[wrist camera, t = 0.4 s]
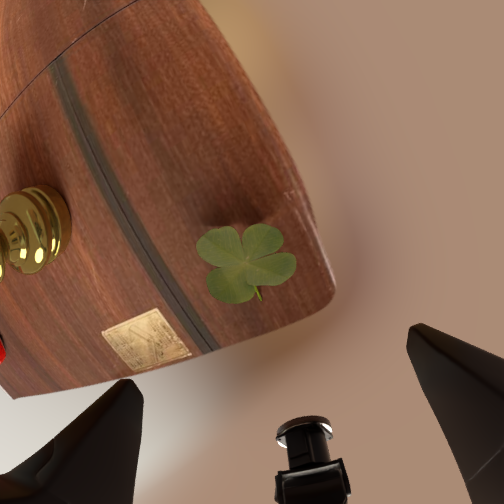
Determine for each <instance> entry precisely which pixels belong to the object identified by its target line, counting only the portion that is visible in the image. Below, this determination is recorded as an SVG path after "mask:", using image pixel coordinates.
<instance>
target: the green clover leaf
mask: <svg viewBox="0 0 504 504" xmlns="http://www.w3.org/2000/svg"><path fill="white" fill-rule="evenodd" d="M283 241H284V240H283V236H282V234H281V232H280V231H279V230H278V229H277V228H274V227H271V226H269V225H267V224H255V225H252V226H249V227H248V228H246V230H245V231H244V233H243V237H242V245H241V240H240V238H239V235H238V233H237V231H236V230H235V229H234V228H232V227H230V226H225V227H222V228H219V229H212V230H210V231H208V232H207V233H206V234H204V235H203V236H202V237H201V238H200V239H199V240H198V241H197V245H196V246H197V247H196V249H197V251H198V255H199V256H200V257H201V258H202V259H203V260H205V261H206V262H208V263H210V264H212V265H215V266H217V267H220V268H216V269H214V270H212V271H211V272H210V273H209V274H208V275H207V277H206V282H207V287H208V289H209V292H210V294H211V295H212V296H213V297H214V298H216V299H217V300H220V301H222V302H225V303H235V304H237V303H243V302H246V301H248V300H250V299H251V298H253V296H254V293H255V291H256V293H257V295H258V297H259V299H260V301H262V298H261V296H260V293H259V291H258V289H257V287H256V286H259V285H269V286H277V285H280V284H282V283H283V282H285V281H286V280H287V279H289V278H290V277H291V276H292V275H293V273H294V271H295V270H296V258H295V257H294V255H293V254H291V253H287V252H286V253H283V252H281V253H278V254H276V253H275V254H272V255H269V256H266V255H268V254H271V253H274V252H276V251H277V250H278V249H280V247H281V246H282V244H283V243H284V242H283ZM242 246H243V248H242ZM263 256H266V257H263ZM261 257H263V258H261ZM258 258H260V259H258ZM256 259H257V260H256ZM232 265H233V266H232Z"/></svg>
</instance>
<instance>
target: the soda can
mask: <svg viewBox="0 0 504 504" xmlns="http://www.w3.org/2000/svg"><path fill="white" fill-rule="evenodd" d="M5 357H6V352H5V348H4V345H3V342H2V340H1V338H0V364H1V363H2V362H3V361H4V359H5Z"/></svg>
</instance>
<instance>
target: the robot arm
mask: <svg viewBox="0 0 504 504" xmlns="http://www.w3.org/2000/svg"><path fill="white" fill-rule="evenodd" d="M406 348H407V353H408V355H409V358H410V360H411V363H412V365H413V367H414V370H415V372H416V375H417V378H418V380H419V383H420V385H421V388H422V390H423V392H424V394H425V396H426V398H427V400H428V402H429V404H430V406H431V408H432V410H433V412H434V414H435V416H436V418H437V420H438V422H439V424H440V426H441V428H442V431H443V433H444V435H445V437H446V439H447V441H448V444H449V446H450V448H451V450H452V453H453V455H454V457H455V460H456V462H457V464H458V467H459V469H460V472H461V474H462V477H463V479H464V482H465V485H466V488H467V490H468V493H469V496H470V499H471V501H472V504H504V359H503V358H501V357H498V356H496V355H494V354H492V353H489V352H487V351H485V350H482V349H480V348H478V347H476V346H473V345H471V344H469V343H466V342H464V341H462V340H460V339H457V338H455V337H453V336H450V335H448V334H446V333H443V332H441V331H439V330H436V329H434V328H432V327H430V326H427V325H425V324H423V323H419V324H416V325H414V326H411V327H410V329H409V332H408V339H407V345H406ZM143 404H144V399H143V395H142V393H141V392H140V390H139V389H138V387H137V386H136V384H135V383H134V381H133V380H131V379H120V380H119V381H117V382H116V383H115V384H114V385H113V386H112V387H111V388H110V389H108V390H107V391H106V392H105V393H104V394H103V395H102V396H101V397H99V399H97V400H96V401H95V402H94V403H93V404H92V405H91V406H89V407H88V408H87V409H86V410H85V411H84V412H83V413H81V414H80V415H79V416H78V417H77V418H76V419H75V420H73V421H72V422H71V423H70V424H69V425H68V426H67V427H65V428H64V429H63V430H62V431H61V432H60V433H59V434H57V435H56V436H55V437H54V438H53V439H52V440H51V441H50V442H48V443H47V444H46V445H45V446H44V447H42V448H41V449H40V450H39V451H37V452H36V453H35V454H33V455H32V456H31V457H29V458H28V459H27V460H25V461H24V462H22V463H21V464H19V465H18V466H17V467H15V468H14V469H12V470H11V471H9V472H8V473H5V474H2V475H0V504H133V495H134V486H135V478H136V470H137V464H138V457H139V449H140V444H141V435H142V419H143ZM332 438H333V435H332V434H331V433H330V432H329V431H327V430H326V429H325V428H324V427H322V426H321V425H320V424H319V423H318V422H311V423H309V424H307V425H304V426H302V427H299V428H297V429H295V430H292V431H289V432H287V433H284V434H282V435H279V436H277V437H276V441H278V442H280V443H281V444H283V445H284V446H286V447H287V454H288V462H289V470H286V471H278V475H277V476H275V481H276V489H275V501H276V502H277V503H279V504H347V497H349V496H351V489H350V484H349V480H348V476H347V473H346V470H345V467H344V463H343V460H342V458H339V459H337V460H333V461H331V459H330V455H329V450H328V446H327V442H326V441H328V440H330V439H332Z"/></svg>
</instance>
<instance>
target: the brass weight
mask: <svg viewBox="0 0 504 504" xmlns="http://www.w3.org/2000/svg"><path fill="white" fill-rule="evenodd" d="M70 236H71V220H70V215H69V211H68V208H67V206H66V204H65V202H64V200H63V198H62V197H61V195H60V194H59V193H58V192H57V191H56V190H55V189H53V188H52V187H50V186H48V185H42V184H41V185H36V186H33V187H27V188H24V189H22V190H21V191H15V192H12V193H9V194H8V195H6V196H5V197H4V198H3V199H2V201H1V202H0V283H1V282H2V280H3V278H4V276H5V262H6V263H8V264H9V265H10V266H11V267H12V268H13V269H14V270H16V271H17V272H19V273H21V274H25V275H33V274H36V273H38V272H39V271H41V270H42V269H43V268H44V267H45V265H48V264H50V263H51V262H52V261H54V259H55V258H57V257H58V256H59V255H61V254H62V253H63V252H64V251H65V249H66V248H67V246H68V244H69V240H70Z"/></svg>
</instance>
